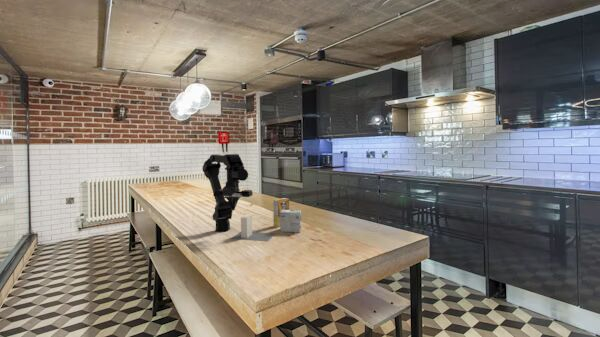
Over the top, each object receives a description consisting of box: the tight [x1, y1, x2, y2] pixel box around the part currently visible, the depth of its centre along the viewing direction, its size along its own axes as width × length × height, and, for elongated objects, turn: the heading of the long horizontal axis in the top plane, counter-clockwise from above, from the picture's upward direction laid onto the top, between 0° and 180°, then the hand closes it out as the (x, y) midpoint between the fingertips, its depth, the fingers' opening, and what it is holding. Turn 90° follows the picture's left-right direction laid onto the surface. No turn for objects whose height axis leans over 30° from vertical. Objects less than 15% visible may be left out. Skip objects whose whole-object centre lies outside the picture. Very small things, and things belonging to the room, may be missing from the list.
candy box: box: [272, 197, 290, 228], centre depth 183 cm, size 9×4×15 cm, turn 139°
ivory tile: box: [240, 214, 253, 238], centre depth 162 cm, size 3×7×10 cm, turn 168°
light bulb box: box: [279, 209, 302, 233], centre depth 173 cm, size 11×7×11 cm, turn 84°
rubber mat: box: [230, 231, 276, 242], centre depth 162 cm, size 19×14×1 cm
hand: (233, 210), depth 163 cm, fingers closed
